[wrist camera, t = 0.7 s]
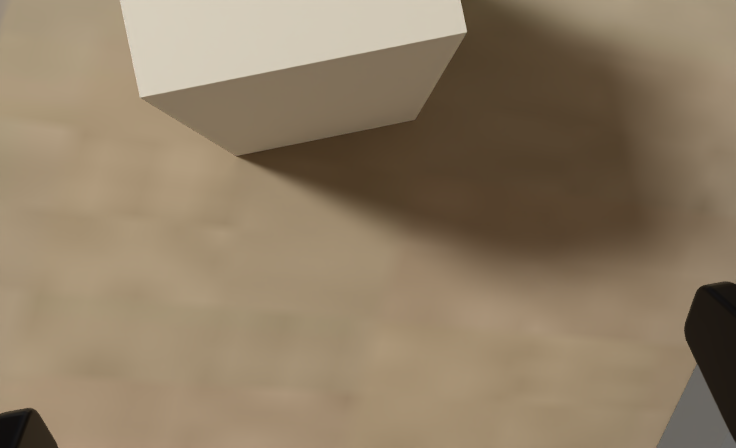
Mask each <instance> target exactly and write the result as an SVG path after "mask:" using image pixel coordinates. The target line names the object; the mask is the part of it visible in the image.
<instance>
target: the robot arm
mask: <svg viewBox="0 0 736 448" xmlns="http://www.w3.org/2000/svg"><path fill="white" fill-rule="evenodd" d="M684 332H685V337H686V341H687V343H688V345H689V347H690V350H691V352H692V354H693V356H694V358H695V360H696V362H697V365H698V367H699V369H700V371H701V373H702V375H703V377H704V379H705V382H706V384H707V386H708V388H709V390H710V392H711V394H712V396H713V399H714V401H715V403H716V405H717V407H718V409H719V411H720V413H721V416H722V418H723V420H724V422H725V424H726V426H727V428H728V430H729V432H730V434H731V436H732V437H733V439H734V441H735V443H736V284H734V283H731V282H719V283H713V284H708V285H703V286H701V287H700V288H699V289H698V290H697V292H696V294H695V296H694V299H693V302H692V305H691V308H690V311H689V313H688V316H687V319H686V322H685V327H684ZM0 448H58V446H57V443H56V441H55V440H54V438H53V436H52V435H51V433H50V431H49V430H48V428H47V426H46V425H45V423H44V421H43V420H42V418H41V416H40V415H39V413H38V412H37V411H36V410H34V409H32V408H25V409H20V410H14V411H9V412H4V413H1V414H0Z"/></svg>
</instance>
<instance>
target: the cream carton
mask: <svg viewBox="0 0 736 448" xmlns="http://www.w3.org/2000/svg"><path fill="white" fill-rule="evenodd" d="M120 3H121V8H122V13H123V18H124V22H125V27H126V32H127V37H128V42H129V47H130V51H131V56H132V61H133V66H134V71H135V76H136V80H137V85H138V90H139V95H140V98H142V99H143V100H145V101H146V102H148V103H150V104H151V105H153V106H155V107H156V108H158V109H160V110H161V111H163V112H165V113H166V114H168V115H169V116H171V117H173V118H174V119H176V120H178V121H179V122H181V123H183V124H184V125H186V126H187V127H189V128H191V129H192V130H194V131H196V132H197V133H199V134H201V135H202V136H204V137H205V138H207V139H209V140H210V141H212V142H214V143H215V144H217V145H219V146H220V147H222V148H224V149H225V150H227V151H228V152H230V153H232V154H233V155H235V156H239V155H244V154H249V153H254V152H259V151H264V150H269V149H274V148H279V147H284V146H289V145H294V144H298V143H303V142H308V141H313V140H318V139H323V138H328V137H333V136H338V135H343V134H348V133H353V132H358V131H363V130H368V129H373V128H377V127H382V126H387V125H392V124H397V123H402V122H407V121H412V120H415V119H416V117H417V116H418V114H419V112H420V111H421V109H422V107H423V106H424V104H425V102H426V101H427V99H428V97H429V96H430V94H431V92H432V90H433V89H434V87H435V85H436V84H437V82H438V80H439V79H440V77H441V75H442V74H443V72H444V70H445V69H446V67H447V65H448V64H449V62H450V60H451V58H452V57H453V55H454V53H455V52H456V50H457V48H458V47H459V45H460V43H461V42H462V40H463V38H464V37H465V35H466V33H467V29H466V24H465V19H464V15H463V10H462V5H461V0H120Z"/></svg>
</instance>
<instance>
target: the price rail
mask: <svg viewBox="0 0 736 448" xmlns="http://www.w3.org/2000/svg"><path fill="white" fill-rule="evenodd" d="M657 448H736V443H735V441H734V439H733V437H732V436H731V434H730V432H729V430H728V428H727V426H726V424H725V422H724V420H723V418H722V416H721V413H720V411H719V409H718V407H717V405H716V403H715V401H714V399H713V396H712V394H711V392H710V390H709V388H708V386H707V384H706V382H705V379H704V377H703V375H702V373H701V371H700V369H699V367H698V365H696V367H695V369H694V371H693V373H692V375H691V378H690V380H689V382H688V384H687V386H686V388H685V390H684V392H683V394H682V396H681V398H680V400H679V402H678V404H677V406H676V408H675V411H674V413H673V415H672V417H671V419H670V421H669V423H668V425H667V427H666V429H665V431H664V433H663V435H662V437H661V439H660V442H659V444H658V446H657Z"/></svg>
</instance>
